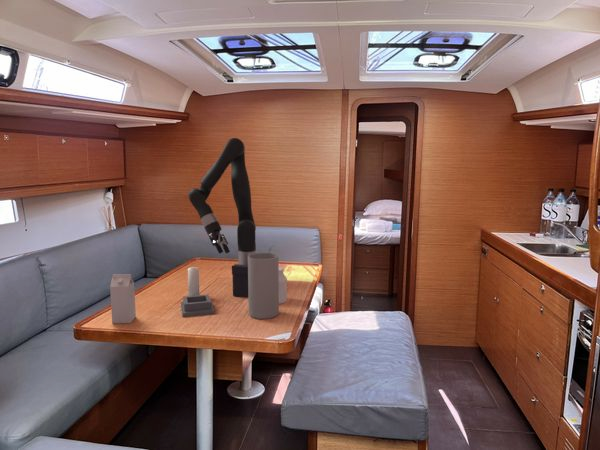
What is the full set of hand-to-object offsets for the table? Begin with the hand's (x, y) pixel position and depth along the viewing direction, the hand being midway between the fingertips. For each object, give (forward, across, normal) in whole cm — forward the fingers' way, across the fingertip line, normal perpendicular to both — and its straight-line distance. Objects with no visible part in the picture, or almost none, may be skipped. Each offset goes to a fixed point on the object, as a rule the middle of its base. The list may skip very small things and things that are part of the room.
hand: (224, 252), depth 218 cm
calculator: (+25, -7, -2) cm, 26 cm away
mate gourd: (+13, +42, -2) cm, 44 cm away
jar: (+33, -9, -15) cm, 37 cm away
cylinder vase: (+37, -28, -14) cm, 48 cm away
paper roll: (+14, -15, +18) cm, 27 cm away
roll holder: (+21, -29, +12) cm, 38 cm away
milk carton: (+13, -48, +33) cm, 59 cm away
